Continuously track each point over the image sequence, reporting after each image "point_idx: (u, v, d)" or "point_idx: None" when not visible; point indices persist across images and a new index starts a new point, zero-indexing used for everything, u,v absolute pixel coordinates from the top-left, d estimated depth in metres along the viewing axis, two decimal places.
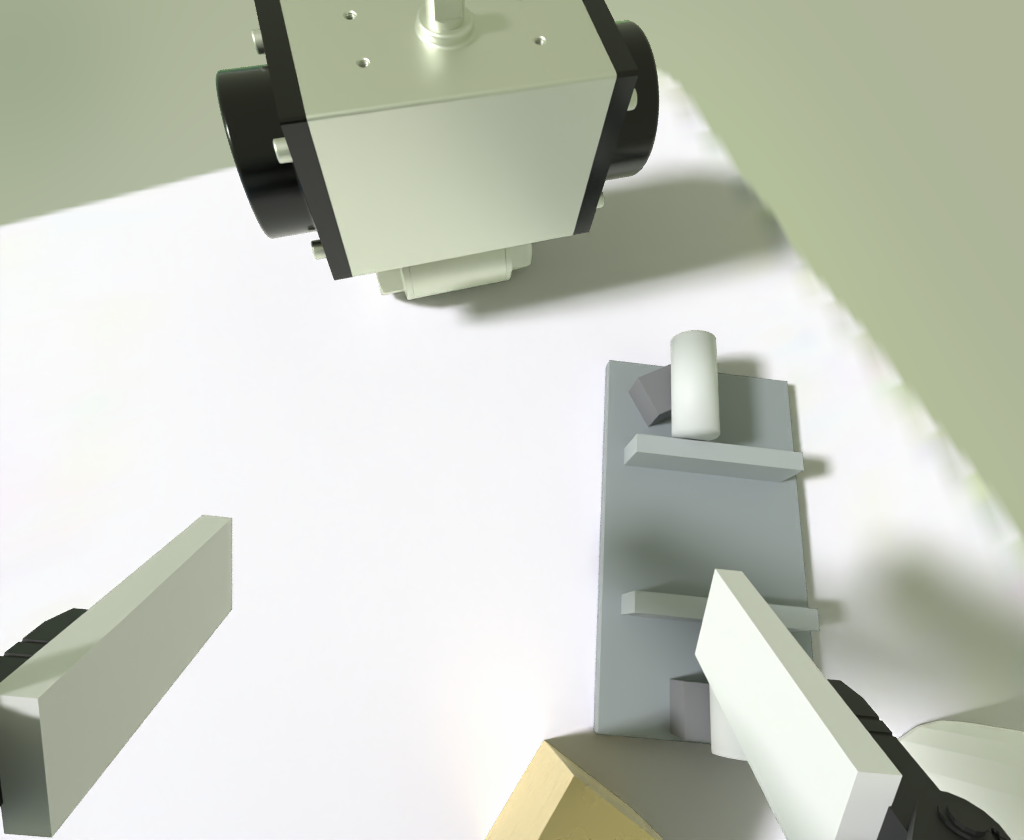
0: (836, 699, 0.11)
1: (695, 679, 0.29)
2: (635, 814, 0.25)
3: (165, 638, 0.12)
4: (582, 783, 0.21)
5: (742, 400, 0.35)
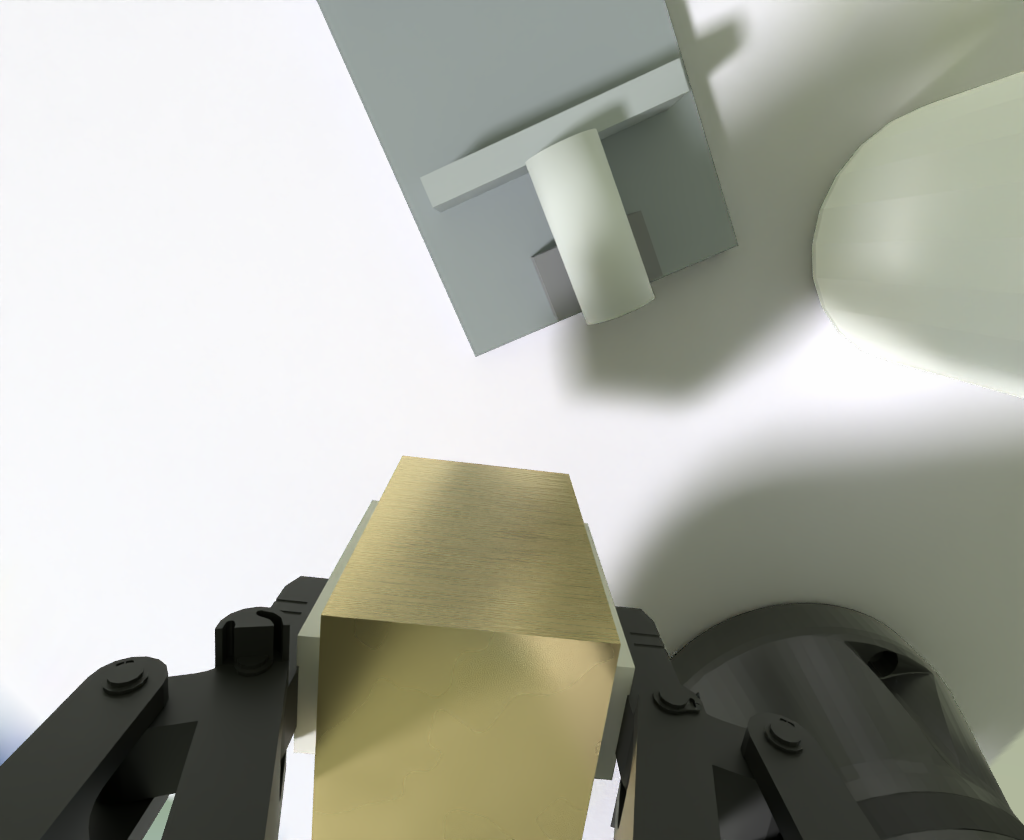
0: (612, 616, 0.13)
1: None
2: (555, 510, 0.15)
3: None
4: (346, 617, 0.10)
5: None
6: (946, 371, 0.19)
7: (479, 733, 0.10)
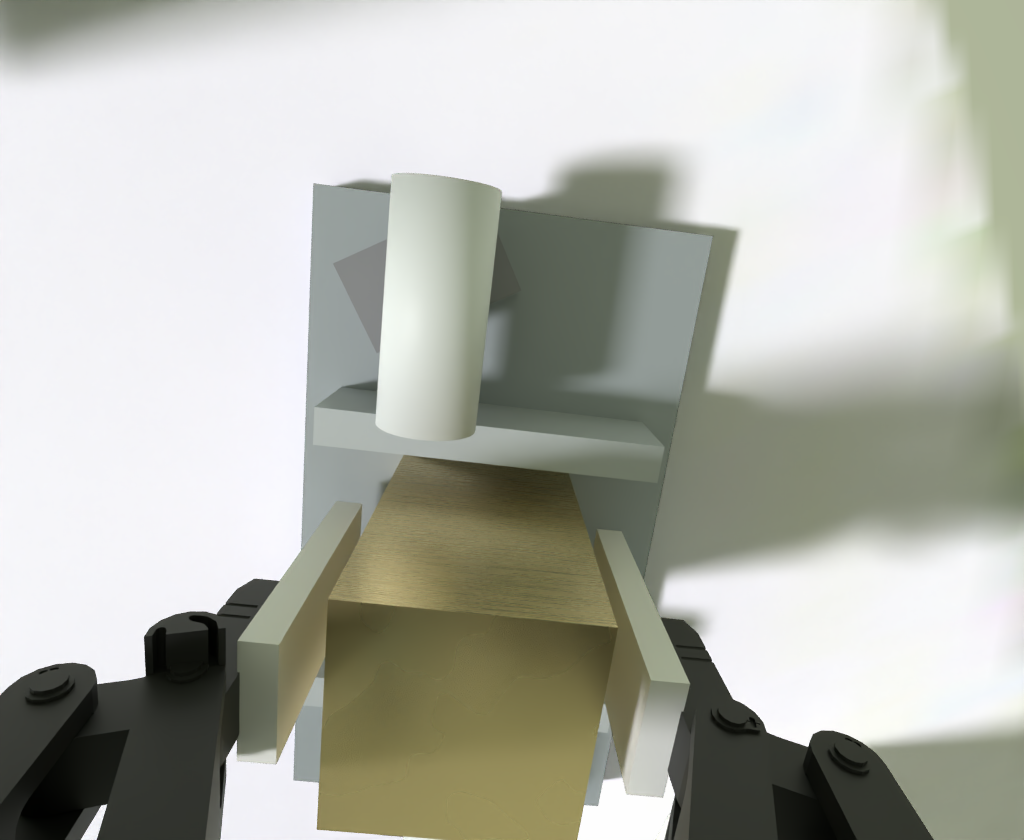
0: (659, 628, 0.13)
1: None
2: (554, 504, 0.15)
3: None
4: (352, 602, 0.10)
5: (600, 283, 0.16)
6: None
7: (481, 715, 0.10)
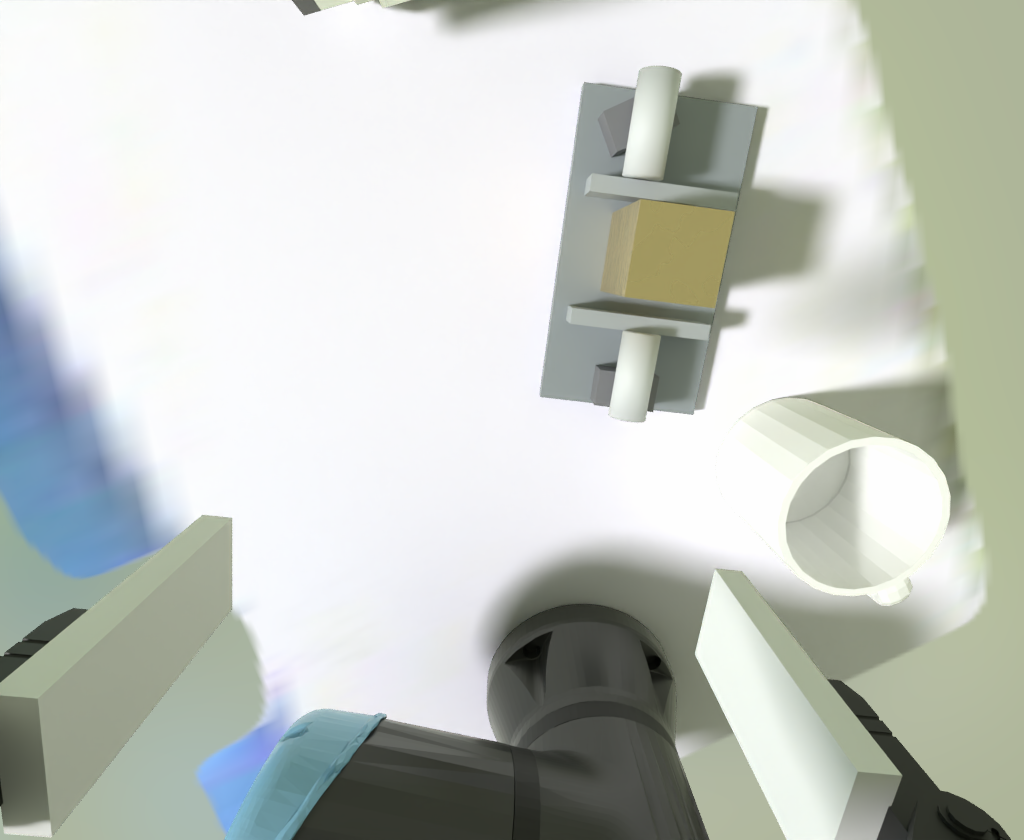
0: (836, 699, 0.11)
1: (614, 365, 0.40)
2: None
3: (165, 638, 0.12)
4: (648, 200, 0.30)
5: (707, 129, 0.36)
6: (749, 523, 0.39)
7: (686, 247, 0.31)
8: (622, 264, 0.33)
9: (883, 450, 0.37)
